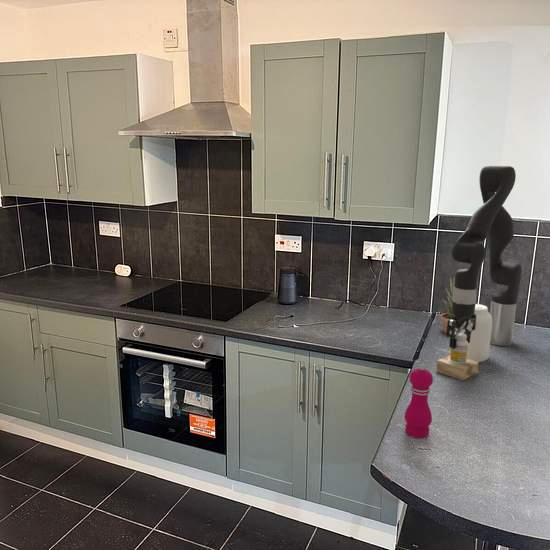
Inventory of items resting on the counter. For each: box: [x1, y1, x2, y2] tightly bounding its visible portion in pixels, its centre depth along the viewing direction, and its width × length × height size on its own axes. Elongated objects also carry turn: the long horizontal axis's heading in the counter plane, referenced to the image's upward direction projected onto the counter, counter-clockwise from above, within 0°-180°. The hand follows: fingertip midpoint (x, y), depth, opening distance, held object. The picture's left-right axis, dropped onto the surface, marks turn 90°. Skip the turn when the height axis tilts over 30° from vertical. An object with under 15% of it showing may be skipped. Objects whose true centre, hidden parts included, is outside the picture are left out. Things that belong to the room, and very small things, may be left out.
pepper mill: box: [404, 363, 434, 439], centre depth 140 cm, size 7×7×20 cm
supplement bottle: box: [449, 333, 468, 363], centre depth 180 cm, size 5×5×10 cm
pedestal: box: [436, 354, 480, 381], centre depth 181 cm, size 10×10×4 cm
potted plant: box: [440, 277, 456, 334], centre depth 220 cm, size 10×10×25 cm
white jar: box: [455, 303, 492, 363], centre depth 194 cm, size 12×12×20 cm
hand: (459, 345), depth 180 cm, fingers open, 8 cm apart
